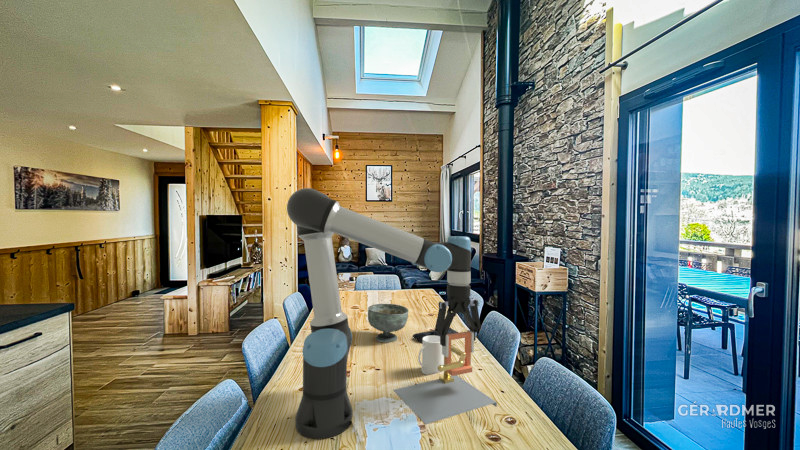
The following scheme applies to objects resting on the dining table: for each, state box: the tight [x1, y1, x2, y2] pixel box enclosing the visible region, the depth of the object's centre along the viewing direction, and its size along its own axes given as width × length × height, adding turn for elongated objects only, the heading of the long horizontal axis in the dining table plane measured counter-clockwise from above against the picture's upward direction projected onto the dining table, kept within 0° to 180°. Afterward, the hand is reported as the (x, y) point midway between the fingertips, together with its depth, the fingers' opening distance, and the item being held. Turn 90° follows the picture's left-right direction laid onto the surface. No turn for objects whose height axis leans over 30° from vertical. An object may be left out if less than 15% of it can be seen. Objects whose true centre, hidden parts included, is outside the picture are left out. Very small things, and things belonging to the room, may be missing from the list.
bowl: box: [367, 303, 409, 344], centre depth 154 cm, size 20×19×15 cm
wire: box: [438, 344, 466, 384], centre depth 102 cm, size 15×17×14 cm
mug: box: [417, 335, 444, 376], centre depth 119 cm, size 12×8×12 cm
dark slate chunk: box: [412, 327, 459, 343], centre depth 157 cm, size 15×22×5 cm
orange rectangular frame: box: [445, 331, 473, 376], centre depth 104 cm, size 5×9×12 cm, turn 114°
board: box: [393, 375, 498, 425], centre depth 100 cm, size 25×20×1 cm
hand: (458, 353), depth 104 cm, fingers closed on orange rectangular frame, 9 cm apart
